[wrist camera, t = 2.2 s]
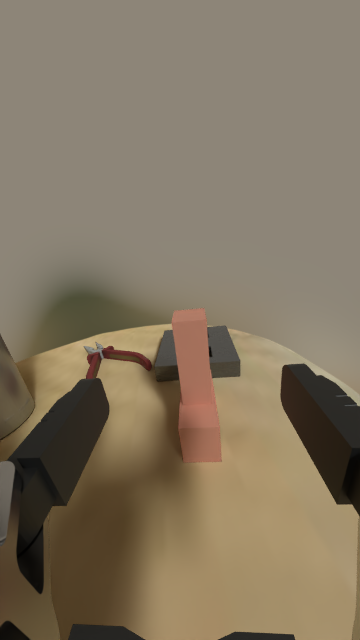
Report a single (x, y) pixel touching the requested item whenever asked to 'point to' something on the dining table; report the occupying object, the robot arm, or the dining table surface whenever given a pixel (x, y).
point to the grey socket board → (220, 355)
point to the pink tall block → (196, 388)
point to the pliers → (110, 353)
